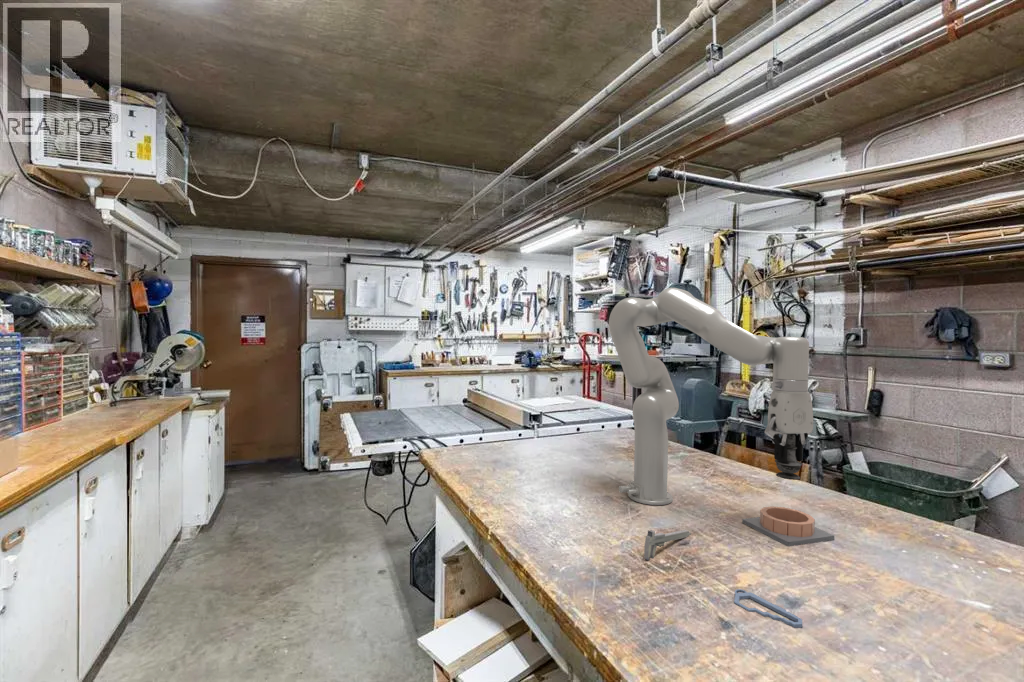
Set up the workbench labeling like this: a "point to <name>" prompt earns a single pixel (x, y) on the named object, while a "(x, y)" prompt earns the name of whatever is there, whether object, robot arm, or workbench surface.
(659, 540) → the caliper
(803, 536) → the shaker holder
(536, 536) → the workbench surface
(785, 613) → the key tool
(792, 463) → the dark flared piece
